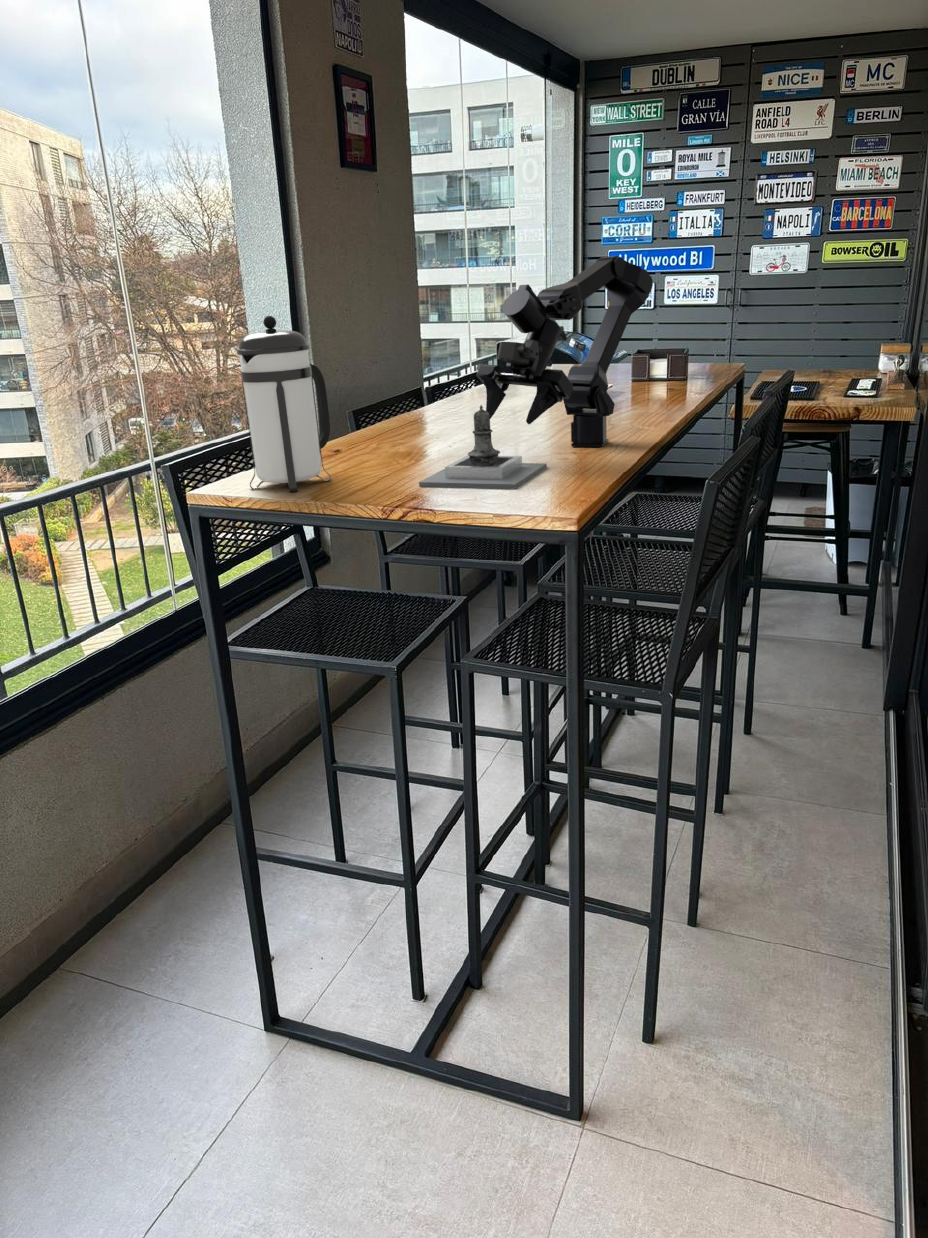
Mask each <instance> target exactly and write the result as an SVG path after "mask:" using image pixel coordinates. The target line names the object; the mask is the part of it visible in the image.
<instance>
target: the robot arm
mask: <svg viewBox="0 0 928 1238" xmlns="http://www.w3.org/2000/svg"><path fill="white" fill-rule="evenodd" d="M649 273H650V272H648V271H647V270H646V269H644V268H642V267H641V266H638V265H636V264H633V263H631V262H628V261H627V260H625V258H623V257H621V256H619V255H609V256H600V258H598V259H596V261H595V262H594V263H592V264H591V265H590V266H588V267H587V268H586V269H584V270H582V271H581V272H580V273H578V274H577V275H575V276H574V277H572V278H571V279H570V280H568V281H567V282H564V283H560V284H557V285H552V286H549V287H547V288H544V289H541V290H540V291H539V292H538V294H537V295H536V293H535V292H534V291H533V288H532V287H531V286H530V285H529V284H520V285H519V286H518V288H517V289H516V290H514V291H513V292H511V293H510V294H509V295H508V296H507V297H506V299H505V298H504V300H503V302H502V307H501V310H502V312H503V314H504V315H505V316H506V317H507V318H508V320H509V321H510V323H512V324H513V325H514V326H515V328H516V329H517V330H518V331H519V332H520V333H521V334H527V335H526V337H525V340H524V342H517V341H500V342H499V347H498V353H497V358H496V359H497V360H498V361H503V362H505V363H506V366H505V367H506V368H507V369H508V370H511V373H508V372H507V373H506V372H504V370H503V368H501V366H499V364H496V365H495V364H488V363H487V364H482V365H480V366H479V368H478V370H477V372H476V377H477V378H478V380H479V381H480V382H481V383H482V385H483V386H484V387H485V391H486V392H485V393H486V405H485V411H487V412H488V413H489V415H490V420H491V419H492V417H493V416H494V415H495V413H496V412H497V410H498V408H499V407H500V406H501V404H502V402H503V401H504V399H505V398H506V395H507V394H506V393H505V392H506V391H508V390H509V389H508V388H509V386H510V385H516V386H522V387H523V386H524V387H533V388H534V387H535V388H536V394H535V397H534V399H533V401H532V403H531V406H530V408H529V411H528V413H527V416H526V419H525V422H526V424H527V425H531V424H532V423H534V422H535V421H536V420H537V419H538V418H539V417H540V416H541V415H543V414H544V413H545V412H547V411H548V410H549V409H550V408H552V407H553V406H555V405H556V404H557V403H563V405H564V408H565V412H566V415H567V416H570V415H571V416H573V417H572V418H573V421H572V422H570V440H571V445H570V446H571V447H581V448H583V447H586V448H587V447H588V448H589V447H595V448H599V447H601V448H602V447H603V446H605V445H606V444H607V443H608V442H609V441H610V440H609V439H608V438H607V417H608V416H610V415H613V414H614V412H615V411H614V409H615V405H616V404H615V402H614V401H613V399H612V397H611V396H610V395H609V393H608V390H609V384H608V378H607V372H608V369H609V367H610V365H611V363H612V360H613V358H614V356H615V354H616V351H617V349H618V347H619V344H620V341H621V340H622V337H623V336H624V335H623V334H624V332H625V330H626V328H627V325H628V323H629V320H630V318H631V316H632V315H633V314H634V313H635V312H636V311H638V310H639V309H640V308H641V307H643V305H644V304H645V303H646V301H647V299H648V298H649V296H650V294H651V292H652V288H653V286H654V285H653V284H654V283H653V277H652V276H651V275H650V274H649ZM601 288H605V290H606V291H607V292H606V295H607V299H608V307H607V309H606V312H605V314H604V316H603V318H602V320H601V323H600V325H599V328H598V330H597V332H596V335H595V337H594V340H593V341H592V344H591V346H590V348H589V350H588V353H587V356H586V358H585V360H584V362H583V364H582V365H577V366H574V365H573V366H571V367H570V368H569V371H568V372H567V373H568V374H565V372H564V371H563V369H553V368H552V369H550V368H551V367H552V366H553V363H554V362H553V360H552V359H551V357H552V355H553V353H554V351H555V348H556V345H557V343H558V342H566V341H567V338H568V337H567V333H566V332H565V330H564V329H565V328H564V326H562V325H559V323H558V322H557V321H571V320H572V319H574V318H575V316H576V315H577V314H578V313H580V311H581V310H582V308H583V303H584V302H585V300H587V299H588V298H589V297H590V296H592V295H593V294H595V293H596V292H597V291H599V290H601ZM548 367H549V368H548Z"/></svg>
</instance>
